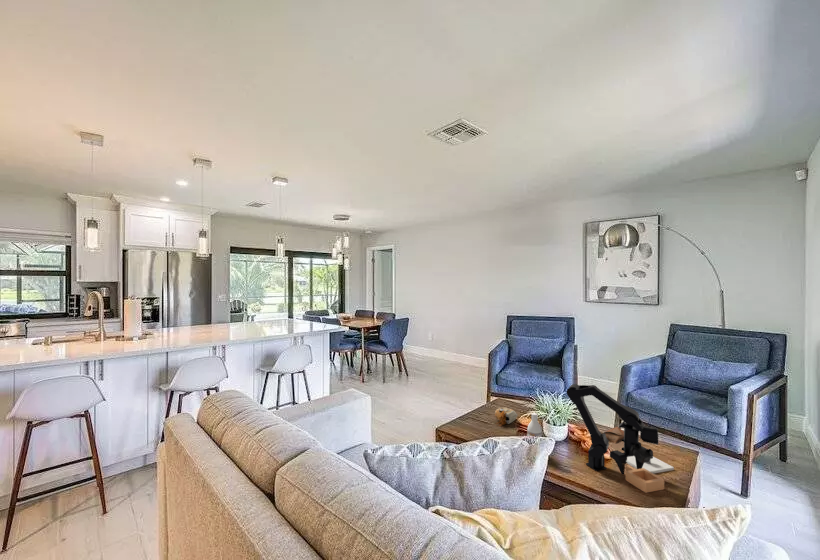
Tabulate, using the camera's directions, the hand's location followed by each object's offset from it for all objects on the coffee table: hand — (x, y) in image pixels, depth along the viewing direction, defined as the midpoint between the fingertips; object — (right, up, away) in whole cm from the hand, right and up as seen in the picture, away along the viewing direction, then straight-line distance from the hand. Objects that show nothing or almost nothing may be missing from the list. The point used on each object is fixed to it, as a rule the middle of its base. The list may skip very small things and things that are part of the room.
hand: (630, 472), depth 169 cm
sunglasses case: (+16, -2, +41) cm, 44 cm away
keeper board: (+14, -1, +10) cm, 17 cm away
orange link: (+1, -1, -5) cm, 5 cm away
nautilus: (-42, -1, +61) cm, 75 cm away
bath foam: (-36, -1, +22) cm, 42 cm away
